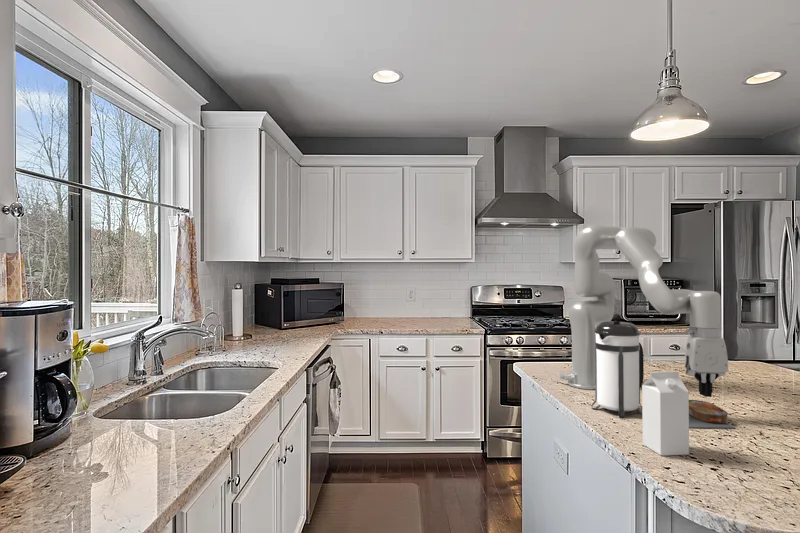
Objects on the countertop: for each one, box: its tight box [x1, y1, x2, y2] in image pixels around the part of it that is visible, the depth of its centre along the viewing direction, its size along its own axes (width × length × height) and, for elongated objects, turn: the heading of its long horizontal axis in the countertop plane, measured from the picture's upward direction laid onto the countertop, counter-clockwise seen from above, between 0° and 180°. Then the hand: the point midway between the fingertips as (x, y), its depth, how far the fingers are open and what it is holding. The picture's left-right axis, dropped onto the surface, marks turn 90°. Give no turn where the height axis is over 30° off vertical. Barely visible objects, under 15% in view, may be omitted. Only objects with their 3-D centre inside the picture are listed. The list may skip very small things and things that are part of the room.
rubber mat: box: [689, 414, 736, 430], centre depth 135 cm, size 12×18×1 cm
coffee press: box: [591, 313, 645, 419], centre depth 143 cm, size 17×16×30 cm
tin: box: [689, 399, 729, 423], centre depth 135 cm, size 15×3×8 cm
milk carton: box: [641, 371, 690, 457], centre depth 112 cm, size 7×7×19 cm
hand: (705, 395), depth 134 cm, fingers closed
